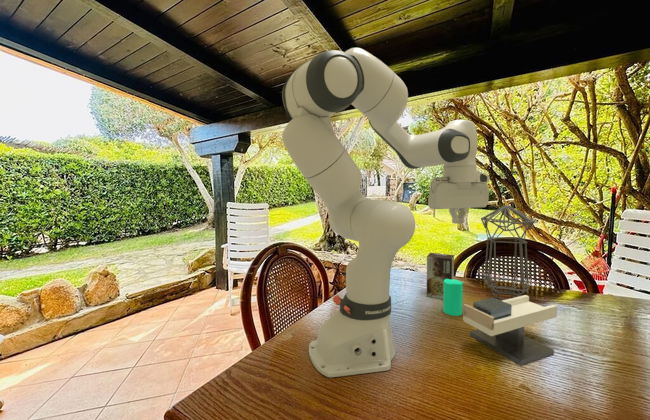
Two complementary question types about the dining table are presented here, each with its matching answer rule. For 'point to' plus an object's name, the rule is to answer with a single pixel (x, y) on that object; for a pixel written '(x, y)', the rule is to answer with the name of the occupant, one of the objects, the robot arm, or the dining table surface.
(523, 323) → the beam
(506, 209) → the geometric lantern
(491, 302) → the block
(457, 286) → the candle
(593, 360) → the dining table surface
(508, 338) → the pivot stand
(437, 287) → the coffee box
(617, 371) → the dining table surface
